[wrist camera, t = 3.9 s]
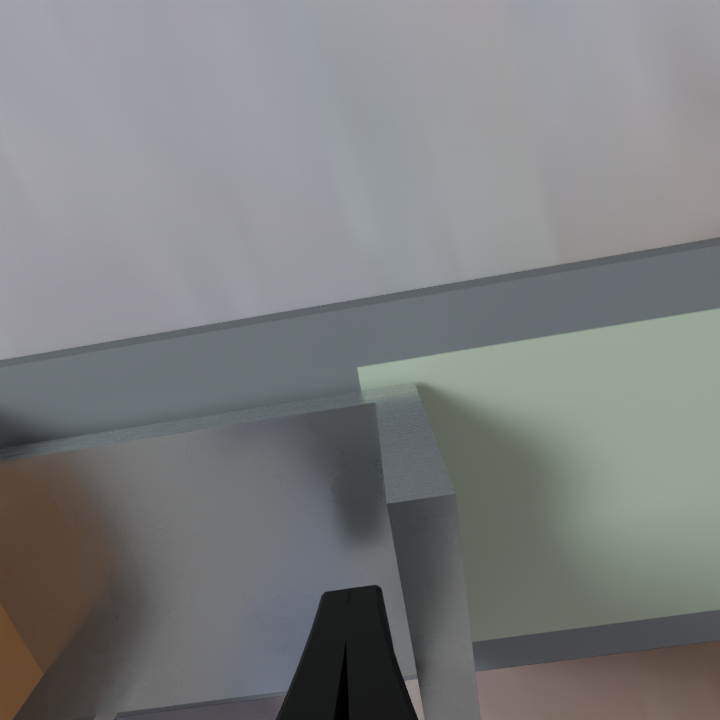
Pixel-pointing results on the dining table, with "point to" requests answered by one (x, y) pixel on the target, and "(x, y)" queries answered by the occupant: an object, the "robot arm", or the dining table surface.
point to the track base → (485, 431)
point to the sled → (231, 553)
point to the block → (15, 669)
